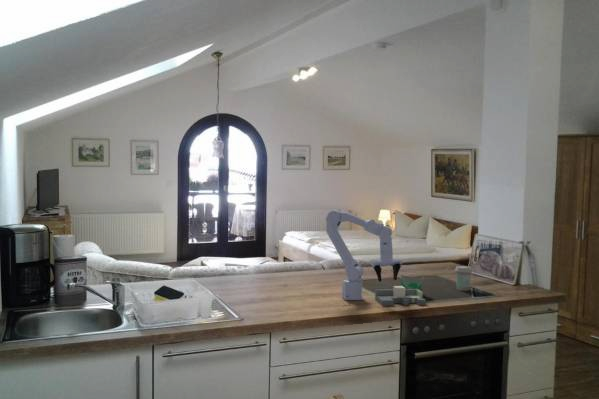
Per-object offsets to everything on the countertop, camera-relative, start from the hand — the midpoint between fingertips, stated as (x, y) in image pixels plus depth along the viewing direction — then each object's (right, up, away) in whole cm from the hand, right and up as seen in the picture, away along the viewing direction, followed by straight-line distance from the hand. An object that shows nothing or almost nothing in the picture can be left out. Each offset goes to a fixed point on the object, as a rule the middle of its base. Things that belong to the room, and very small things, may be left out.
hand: (387, 280), depth 265 cm
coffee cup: (+44, -9, +29) cm, 54 cm away
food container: (+15, -10, +14) cm, 23 cm away
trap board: (+6, -10, 0) cm, 12 cm away
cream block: (+6, -8, +1) cm, 10 cm away
